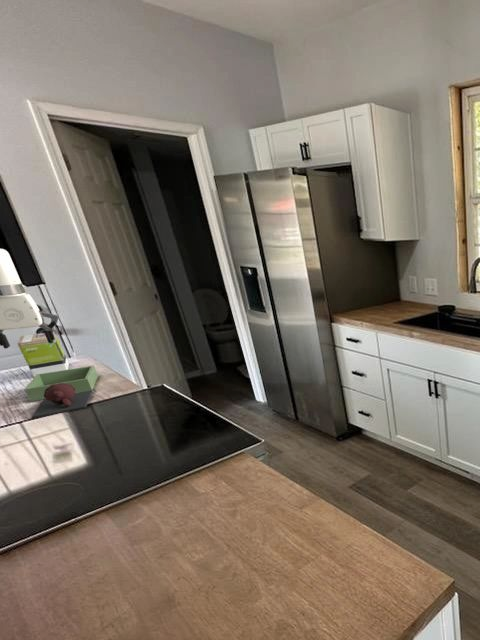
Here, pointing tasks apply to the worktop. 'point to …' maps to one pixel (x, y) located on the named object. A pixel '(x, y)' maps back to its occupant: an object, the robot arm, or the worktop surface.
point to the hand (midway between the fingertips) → (29, 344)
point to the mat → (54, 408)
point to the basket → (62, 381)
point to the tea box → (42, 354)
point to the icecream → (60, 393)
